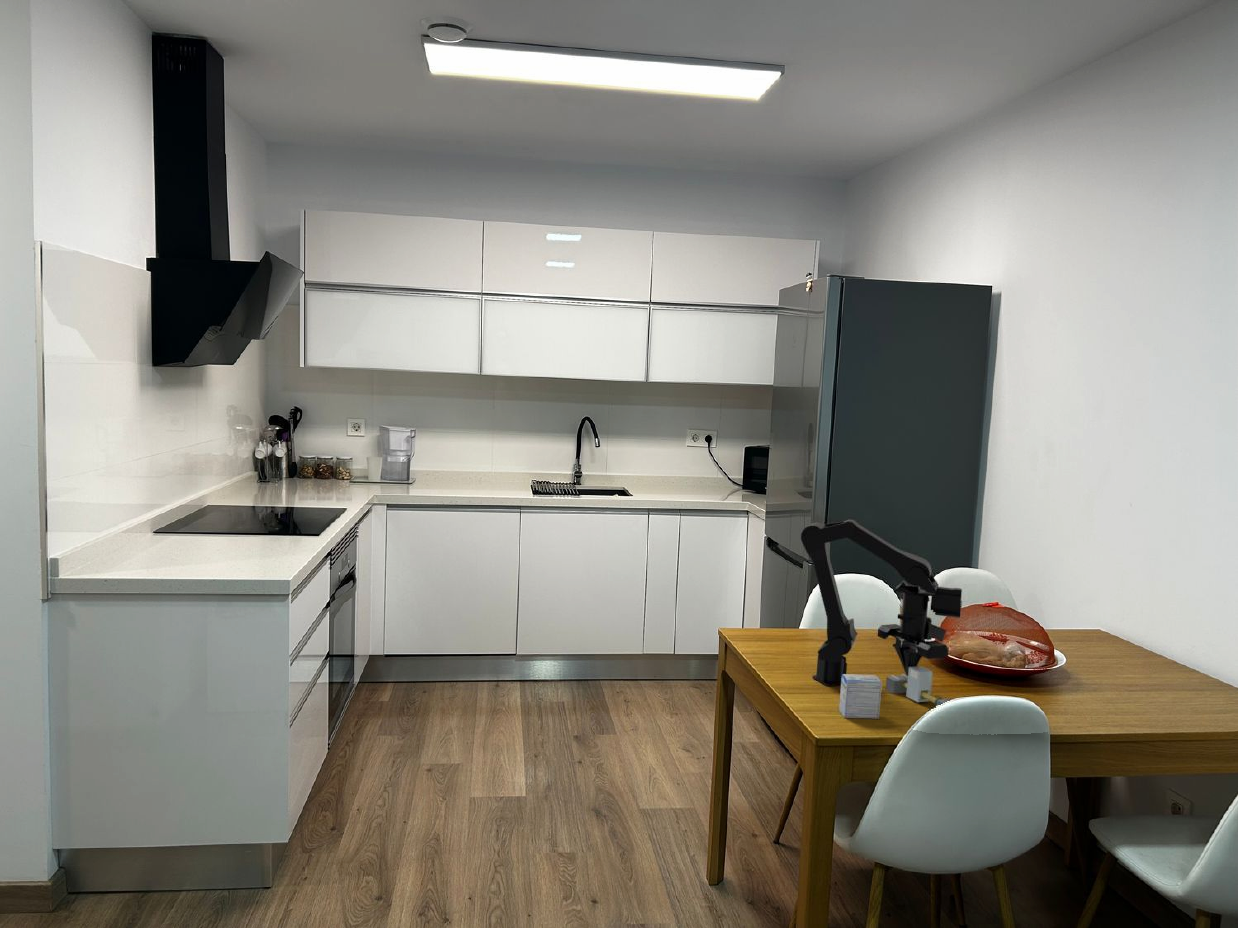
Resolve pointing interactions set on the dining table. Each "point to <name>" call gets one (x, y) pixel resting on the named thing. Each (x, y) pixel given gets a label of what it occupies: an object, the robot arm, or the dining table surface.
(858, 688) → the medicine box
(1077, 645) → the dining table surface
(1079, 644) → the dining table surface
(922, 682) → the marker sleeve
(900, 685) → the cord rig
